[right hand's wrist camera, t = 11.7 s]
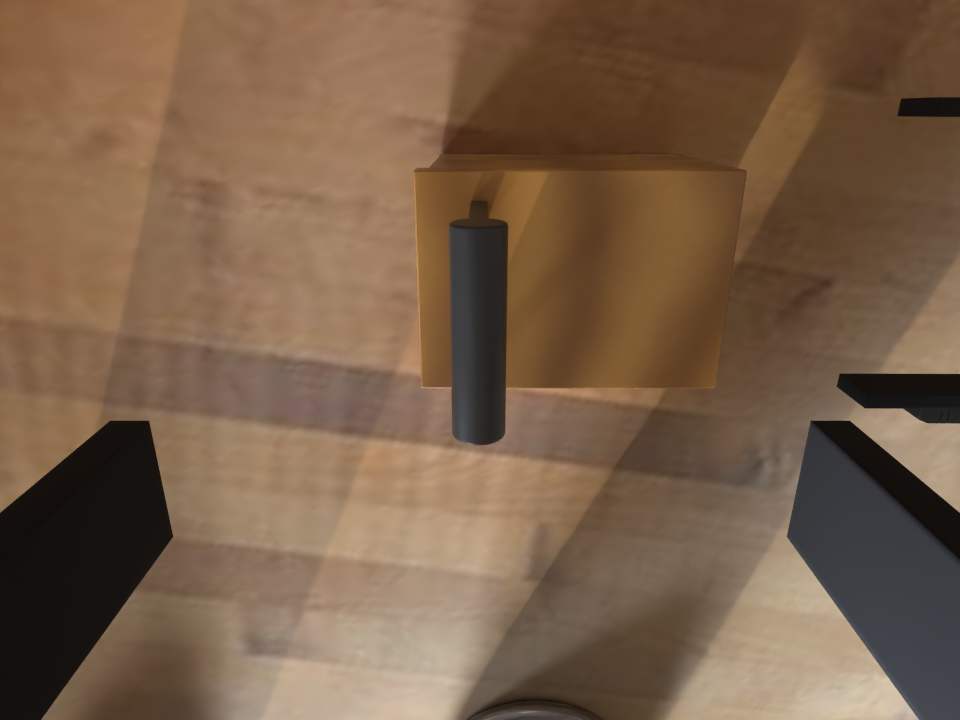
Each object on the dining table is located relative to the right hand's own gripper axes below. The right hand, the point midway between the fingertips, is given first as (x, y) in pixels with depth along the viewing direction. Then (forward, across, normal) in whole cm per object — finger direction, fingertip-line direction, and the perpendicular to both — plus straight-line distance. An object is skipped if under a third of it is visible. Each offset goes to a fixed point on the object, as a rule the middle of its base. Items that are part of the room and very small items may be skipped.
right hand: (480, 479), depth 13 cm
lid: (+16, -4, 0) cm, 17 cm away
